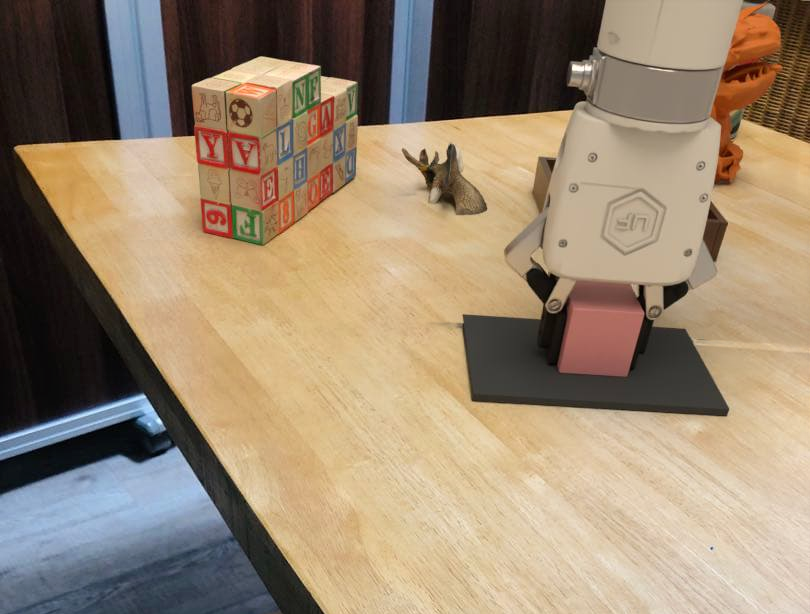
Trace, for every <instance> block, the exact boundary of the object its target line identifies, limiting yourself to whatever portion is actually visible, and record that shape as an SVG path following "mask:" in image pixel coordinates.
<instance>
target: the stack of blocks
mask: <svg viewBox="0 0 810 614" xmlns="http://www.w3.org/2000/svg"><path fill="white" fill-rule="evenodd" d="M358 85H359V83H358V81H353V80H348V79H344V78H337V77H332V76H330V77H328V76H323V75H322V66H321V65H318V64H317V65H316V64H311V63H310V64H309V63H303V62H297V61H290V60H284V59H278V58H273V57H267V56H258V57H256V58H253V59H251V60H249V61H246V62H243V63H241V64H239V65H236V66H234V67H232V68H231V69H228V70H225V71H224V72H221V73H219V74H216V75H214V76H212V77H208V78H205V79H203V80H201V81H198V82H196V83H193V84H192V85H191V98H192V108H193V118H194V126H193V128H194V129H193V130H194V131H193V132H194V142H195V144H194V145H195V154H196V162H197V170H198V171H197V172H198V181H199V192H200V211H201V224H202V225H201V226H202V231H203V232H204V233H207V234H212V235H216V236H221V237H225V238H229V239H235V240H239V241H243V242H247V243H252V244H256V245H261V246H264V245H266V244H267V243H268V242H270V241H271V240H272V239H274V238H276V236H277V235H279V234H281V233H283V232H284V231H285V230H287V229H288V228H289V227H291V226H292V225H293V224H294V223H296V222H298V221H299V220H300V219H302V218H303V217H304V216H305V215H307V214H308V212H309V211H311V210H312V209H313V208H314V207H316V206H317V205H318V204H320V203H321V202H322V201H323V200H325V199H326V198H327V197H329V196H330V195H331V194H332V193H336V191H337V190H339V189H340V188H342V187H343V186H344V185H346V184H347V183H349V182H350V181H351V180H352V179H353V178H355V177H356V175H357V151H358V149H357V148H358V146H357V145H358V132H359V131H358V130H359V129H358V127H359V126H358V125H359V116H358V91H359V89H358V88H359V86H358Z"/></svg>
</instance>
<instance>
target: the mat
mask: <svg viewBox="0 0 810 614" xmlns="http://www.w3.org/2000/svg"><path fill="white" fill-rule="evenodd" d="M540 320H541V318H526V317H514V316H513V317H512V316H511V317H510V316H497V315H495V316H494V315H483V314H482V315H481V314H467V313H463V314H462V322H461V326H462V327H461V328H462V334H463V341H464V349H465V356H466V365H467V371H468V378H469V379H468V380H469V386H470V393H471V401H474V402H488V403H491V402H492V403H506V404H521V405H523V404H524V405H541V406H556V407H557V406H558V407H573V408H589V409H605V410H621V411H623V410H625V411H639V412H640V411H641V412H656V413H671V414H672V413H675V414H691V415H706V416H708V415H709V416H725V417H727V416H728V415H729V411H730V407H729V405H728V404H727V402H726V400H725V398H724V396H723V394H722V393H721V391H720V388H719V387H718V385H717V383H716V382H715V380H714V378H713V376H712V374H711V373H710V371H709V369H708V367H707V366H706V363H705V362H704V360H703V358H702V356H701V355H700V353H699V350H697V348H696V346H695V344H694V341H693V340H692V338H691V337H690V334H689V333H688V331H687V329H686V328H679V327H665V326H652V329H651V332H650V336H649V339H648V343H647V346H646V350H645V352H644V354H638V358H637V361H636V365H635V368H634V370H629V372H628V375H627V377H619V376H603V375H587V374H571V373H559V370H558V367H557V363H556V364H555V365H549V364H547V360H546V356H545V353H544V349H543V348H539V347H538V344H537V336H538V330H539V325H540Z"/></svg>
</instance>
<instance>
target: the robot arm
mask: <svg viewBox="0 0 810 614" xmlns="http://www.w3.org/2000/svg"><path fill="white" fill-rule="evenodd" d="M802 1H804V2H805V1H807V2H810V0H802ZM742 3H743V0H605V3H604V8H603V12H602V18H601V24H600V29H599V33H598V40H597V44H596V46H597V47H595V46H594V47H593V50H592V55H589V58H588V59H582V61H573V60H571V61H570V62H569V64H568V68H567V74H566V86H567V87H571V88H572V87H574V88H578V90H579V91H583V92H584V95H585V96H586V101H579V102H577V103H576V104H575V105H574V108H573V110H572V112H571V115H570V117H569V121H568V123H567V126H566V128H565V131H564V134H563V137H562V140H561V141H560V142H561V143H560V146H559V148H558V152H557V156H556V158H557V159H556V162H555V166H554V169H553V172H552V176H551V180H550V184H549V187H548V191H547V195H546V199H545V203H544V207H543V212H542V213H541V214H540V213H539V214H538V215H537V216H536V217H535V218H534V219H533V220H532V221H531V222H530V223H529V224H528V225H527V226H526V227H525V228H524V229H523V230H522V231H521V232H519V233H518V234H517V236H515V238H513V239H512V240H511V241H510V242H509V243H508V244H507V245H506V246H505V248H504V249H503V256H504V259H505V262H506V264H507V265H508V266H509V267H510V268H511V269H512V271H514V272H515V273H516V274H517V275H518V276H519V277H520V278H522V279H523V281H524V282H526V283H527V285H528V287H529V288H530V289H531V290H532V292H533V293H534V294H535V295H536V296H537V298H538V299H539V300H540V302H541V303H542V305H543V306H542V311H541V314H540V315H541V316H540V319H541V320H540V325H539V330H538V336H537V344H538V347H539V348H543V349H544V353H545V356H546V360H547V364H549V365H555V364H556V363H558V359H559V354H560V350H561V345H562V340H563V336H564V331H565V326H566V322H567V314H566V311H565V305H566V300H567V298H568V297H569V295H570V293H571V291H572V289H573V287H574V285H575V283H576V282H577V280H582V281H595V282H608V283H622V284H630V285H637V286H636V288H637V289H636V290H637V296H636V297H637V299H638V301H639V303H640V305H641V307H642V309H643V311H644V318H643V321H642V325H641V328H640V332H639V336H638V339H637V343H636V346H635V350H634V354H633V357H632V361H631V364H630V368H629V370H634V368H635V365H636V361H637V358H638V354H644V352H645V350H646V346H647V343H648V339H649V336H650V332H651V329H652V327H653V325H654V321H657V320H659V319H660V318H661V317H662V316H663V315H664V311H665V310H667V309H668V308H669V307H671V306H672V305H674V304H675V303H677V302H678V301H679V300H682V298H684V297H686V295H687V294H688V293H689V291H691V290H695V289H697V288H698V287H701V286H702V285H704V284H705V283H707V282H709V281H710V280H713V279H714V278H715V277H716V276H717V274H718V268H717V266H716V264H715V263H716V262H714V261H713V259H712V257H711V255H710V253H709V250H708V248H707V246H706V244H705V242H704V240H703V235H704V230H705V226H706V221H707V217H708V212H709V207H710V202H712V197H713V191H714V186H715V183H714V181H715V174H716V169H717V162H718V155H719V147H720V137H721V125H720V124H719V123H718V122H716V121H715V120H714V119H712V118H711V117H710V114H711V111H712V107H713V104H714V100H715V97H716V93H717V90H718V86H719V82H720V79H721V75H722V72H723V68H724V65H725V62H726V59H727V55H728V52H729V48H730V45H731V41H732V38H733V34H734V31H735V27H736V24H737V20H738V17H739V13H740V10H741V6H742ZM539 248H541V249H542V260H543V263H544V265H545V268H546V270H547V271H548V272H546V270H545V269H544V268H543V267H542V265H541V264H540V263H539V262H536V260H534V258H533V257H532V255H533V254H534V253H535V252H536V251H537V250H538V249H539ZM686 253H687V254H686Z"/></svg>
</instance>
